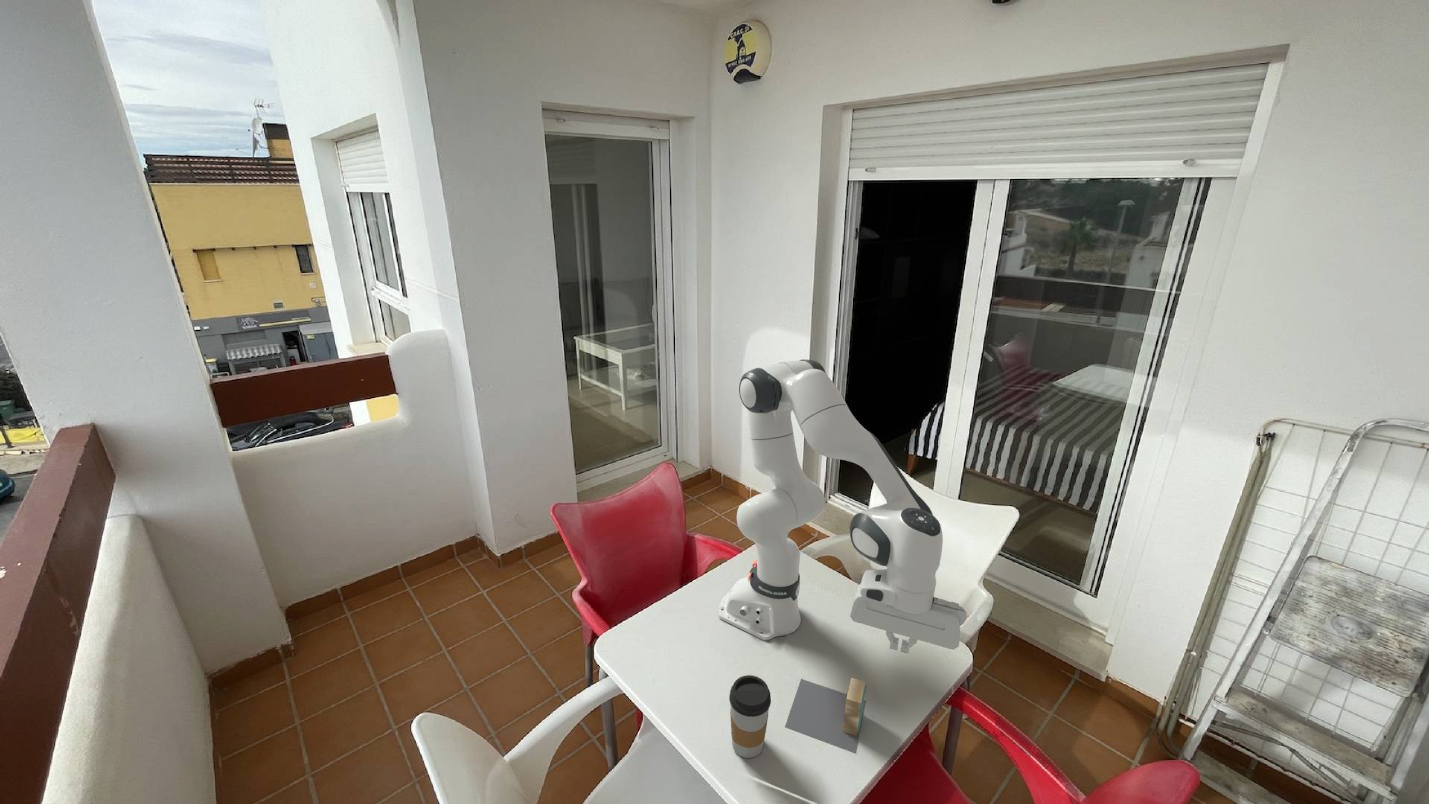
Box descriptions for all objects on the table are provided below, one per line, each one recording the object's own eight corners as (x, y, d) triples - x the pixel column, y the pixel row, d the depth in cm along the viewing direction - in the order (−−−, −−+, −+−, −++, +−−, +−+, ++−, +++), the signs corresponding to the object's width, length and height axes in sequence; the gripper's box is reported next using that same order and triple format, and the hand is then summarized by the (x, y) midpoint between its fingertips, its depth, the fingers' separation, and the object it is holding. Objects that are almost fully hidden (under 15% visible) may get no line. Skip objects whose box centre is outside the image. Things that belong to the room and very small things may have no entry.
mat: (784, 728, 116) (784, 726, 116) (800, 680, 128) (801, 678, 128) (855, 755, 111) (855, 753, 111) (865, 702, 123) (865, 700, 123)
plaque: (842, 731, 115) (846, 698, 112) (847, 709, 121) (851, 677, 118) (858, 736, 114) (862, 704, 111) (862, 714, 119) (866, 682, 117)
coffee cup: (725, 729, 116) (727, 674, 111) (763, 726, 117) (767, 672, 112) (729, 766, 108) (732, 709, 103) (770, 763, 109) (775, 706, 104)
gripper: (967, 596, 102) (955, 654, 107) (857, 568, 110) (850, 623, 114) (968, 617, 97) (955, 677, 101) (852, 586, 104) (845, 644, 109)
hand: (899, 649), depth 108 cm, fingers closed
